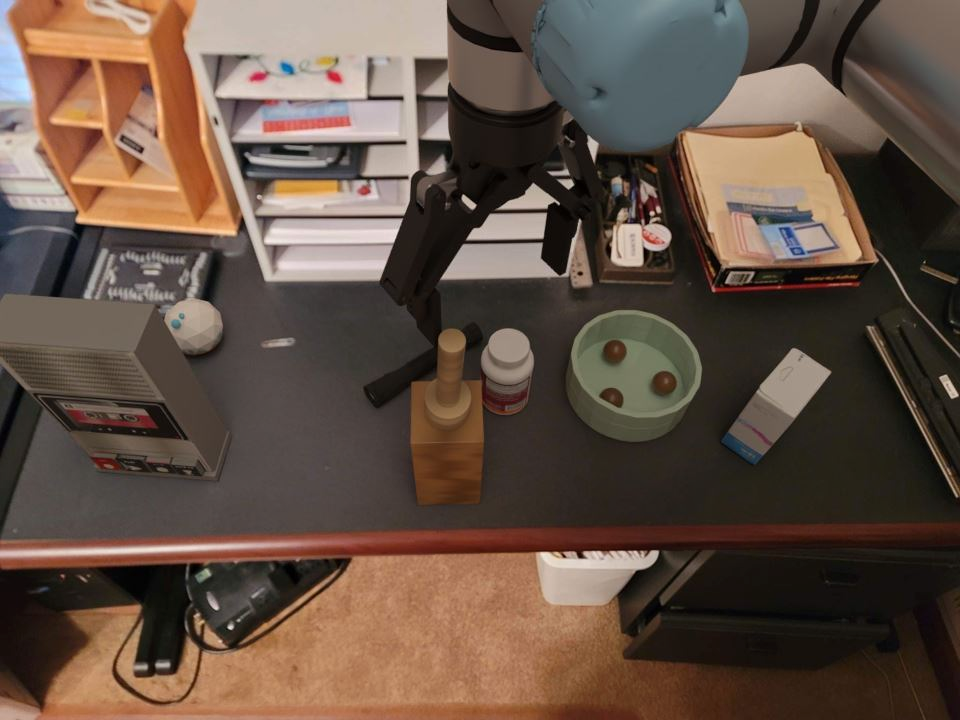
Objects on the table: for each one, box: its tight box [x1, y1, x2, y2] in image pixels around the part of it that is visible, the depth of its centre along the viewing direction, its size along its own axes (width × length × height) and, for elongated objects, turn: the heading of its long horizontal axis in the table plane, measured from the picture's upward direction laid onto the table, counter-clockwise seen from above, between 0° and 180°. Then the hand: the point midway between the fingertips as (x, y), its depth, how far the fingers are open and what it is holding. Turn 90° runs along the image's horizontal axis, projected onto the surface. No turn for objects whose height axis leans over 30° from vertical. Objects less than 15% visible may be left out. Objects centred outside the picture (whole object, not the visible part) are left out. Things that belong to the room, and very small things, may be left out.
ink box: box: [720, 347, 832, 466], centre depth 80 cm, size 9×5×12 cm, turn 137°
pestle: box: [424, 327, 471, 430], centre depth 62 cm, size 4×4×14 cm
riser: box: [409, 379, 485, 506], centre depth 74 cm, size 7×7×15 cm
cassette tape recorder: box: [0, 293, 233, 482], centre depth 71 cm, size 14×6×25 cm, turn 86°
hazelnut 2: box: [599, 387, 624, 408], centre depth 84 cm, size 3×3×3 cm
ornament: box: [163, 297, 224, 356], centre depth 87 cm, size 7×7×8 cm
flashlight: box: [362, 321, 484, 408], centre depth 87 cm, size 3×16×3 cm, turn 128°
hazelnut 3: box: [652, 371, 677, 395], centre depth 86 cm, size 3×3×3 cm
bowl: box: [564, 309, 703, 443], centre depth 85 cm, size 15×15×6 cm
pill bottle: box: [479, 327, 535, 416], centre depth 82 cm, size 6×6×11 cm
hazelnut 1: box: [603, 340, 627, 363], centre depth 88 cm, size 3×3×3 cm
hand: (493, 299), depth 61 cm, fingers open, 13 cm apart
